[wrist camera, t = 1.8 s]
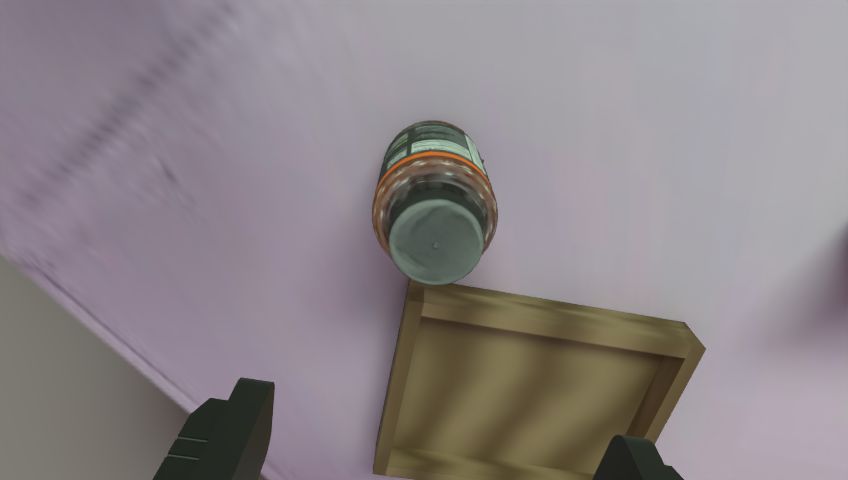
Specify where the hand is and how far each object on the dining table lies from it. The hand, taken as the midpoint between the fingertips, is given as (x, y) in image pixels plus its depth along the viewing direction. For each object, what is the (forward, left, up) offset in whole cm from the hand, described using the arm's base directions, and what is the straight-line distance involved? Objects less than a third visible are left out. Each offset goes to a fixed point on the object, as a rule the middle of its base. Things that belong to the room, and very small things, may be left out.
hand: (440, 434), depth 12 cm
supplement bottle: (0, 0, -21) cm, 21 cm away
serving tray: (+10, -16, -21) cm, 28 cm away
